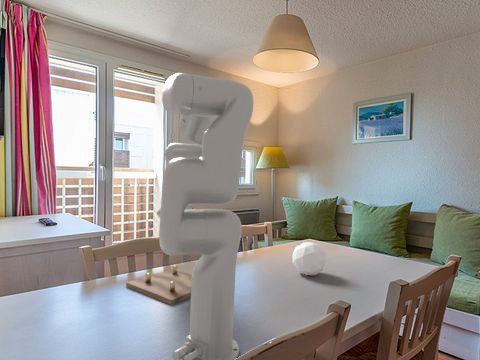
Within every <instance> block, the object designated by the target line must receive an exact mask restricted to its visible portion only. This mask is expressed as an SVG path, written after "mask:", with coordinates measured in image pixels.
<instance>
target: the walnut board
mask: <svg viewBox="0 0 480 360" xmlns="http://www.w3.org/2000/svg"><path fill="white" fill-rule="evenodd" d="M191 280H192V272H190V271H187V270H184V269H182V268H181V269H180V268H178V265H177V264H173V265H172V268H171V269H167V270H163V271H160V272H157V273H154V274H152V272H146V273H145V276H143V277H140V278H137V279H134V280H130V281H126V284H125V285H126V286H125V287H126V288H128V289H130V290H133V291H135V292H137V293H140V294H143V295H145V296H148V297H150V298H152V299H155V300H158V301H159V302H161V303H165V304H167V305H169V306H172V305H174V304H177V303H180V302H182V301H184V300H186V299H190V298H191Z"/></svg>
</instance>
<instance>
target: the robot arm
mask: <svg viewBox="0 0 480 360" xmlns="http://www.w3.org/2000/svg"><path fill="white" fill-rule="evenodd" d="M161 96H162V97H161V99H162V100H161V101H162V105H163V108H164V110H165V111H166V112H168V113H170V114H176V115H180V118H179V121H178V128H179V130H180V132H181V134H182V135H183V136H184V137H185V138H186V139H189V140H190V141H192V142H194V143H182V142H181V143H180V142H172V143H170V144H168V146H167V147H166V148H165V150H164V159H165V161H166V166H165V169H164V172H163V177H162V183H161V185H162V186H161V196H160V197H161V200H160V208H159V209H158V211H157V212H156V215H157V217H159V226H158V228H159V230H158V231H159V233H158V238H159V239H158V240H159V247H160V249H161V251H162V252H163V253H164V254H165V255H168V256H171V257H172V256H174V257H176V256H177V257H179V256H192V255H193V256H194V255H201V256H200V257H199V259H198V260H197V261H196V263H195V265H194V266H193V269H192V272H191V273H192V280H191V297H190V311H189V313H190V314H189V335H186V336H185V342H183V344H182V346H181V347H179V348H178V349H176V350H174V351H172V358H173V360H182V359H183V360H234V359H235V358H237V357H238V358H239V355H240V346H239V343H238V342H237V341H236V340H235V339H234V338H233V336H234V319H235V318H234V316H235V315H234V312H235V293H236V292H235V291H236V289H235V287H236V271H237V270H236V269H237V258H238V253H239V248H240V243H241V239H242V234H243V233H242V232H243V229H242V228H243V226H242V222H241V219H240V217H239V216H238V215H237V214H236V213H235V212H233V211H231V210H229V209H225V208H224V209H223V208H199V209H197V208H196V209H195V208H193V207H192V206H193V205H223V204H229V203H231V202H234V201H235V200H236V198H237V195H238V193H239V188H240V187H239V186H240V181H241V180H240V179H241V169H242V160H243V149H244V140H245V137H246V135H247V134H246V133H247V131H248V128H249V126H250V123H251V120H252V116H253V112H254V95H253V93H252V90H251V89H250V88H249V87H248V86H247V85H245V84H244V83H241V82H238V81H234V80H229V79H226V78H219V77H211V76H204V75H199V74H193V73H184V72H177V73H175V74H173V75H171V76H169V77H168V79H167V80H166V81H165V83H164V86H163V89H162V93H161ZM238 358H237V359H238Z"/></svg>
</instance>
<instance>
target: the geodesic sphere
mask: <svg viewBox="0 0 480 360" xmlns="http://www.w3.org/2000/svg"><path fill="white" fill-rule="evenodd" d="M291 256H292V265H293V266H294V267H295V269H296V270H297V272H299V273H300V274H302V275H304V274H305V275H310V276H316V275H318V274H319V273H321V272H323V271H324V268H325V266H326V263H327V261H326V252H325V250H324V249H323V248H322V246H321V245H320V244H318V243H316V242H314V241H311V240H307V242H305V241H298V242H297V245H296V246H295V248H294V250H293V253H292V255H291ZM305 275H304V276H305Z"/></svg>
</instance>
